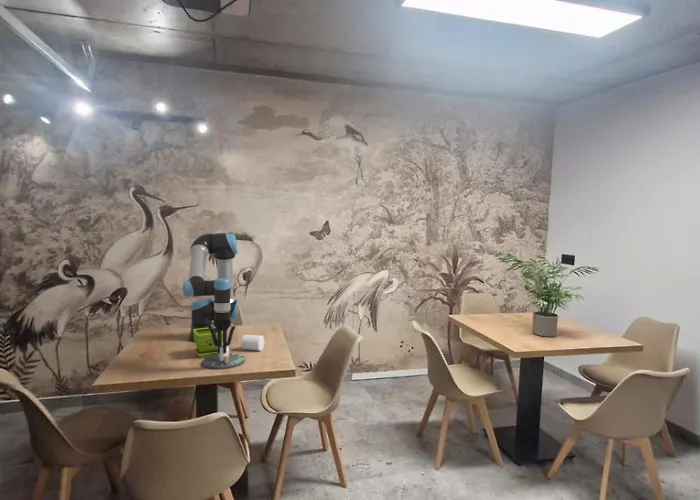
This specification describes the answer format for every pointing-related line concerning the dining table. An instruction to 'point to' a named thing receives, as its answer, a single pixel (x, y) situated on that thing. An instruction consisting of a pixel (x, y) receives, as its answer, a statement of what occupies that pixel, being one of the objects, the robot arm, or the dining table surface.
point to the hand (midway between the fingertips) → (222, 359)
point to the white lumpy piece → (225, 354)
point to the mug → (252, 342)
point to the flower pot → (205, 342)
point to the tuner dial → (215, 363)
